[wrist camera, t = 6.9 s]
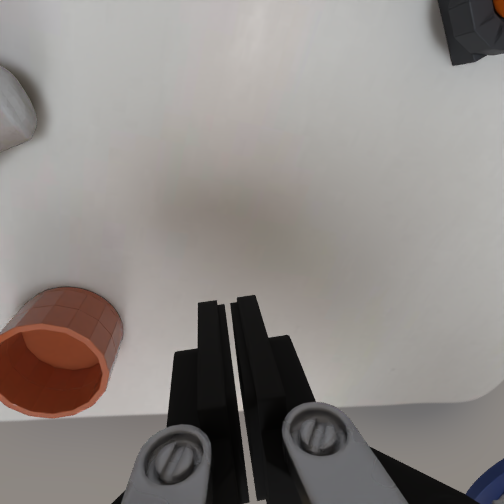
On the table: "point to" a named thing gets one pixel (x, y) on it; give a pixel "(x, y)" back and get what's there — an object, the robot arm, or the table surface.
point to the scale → (472, 29)
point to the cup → (59, 353)
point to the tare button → (499, 7)
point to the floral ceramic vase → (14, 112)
